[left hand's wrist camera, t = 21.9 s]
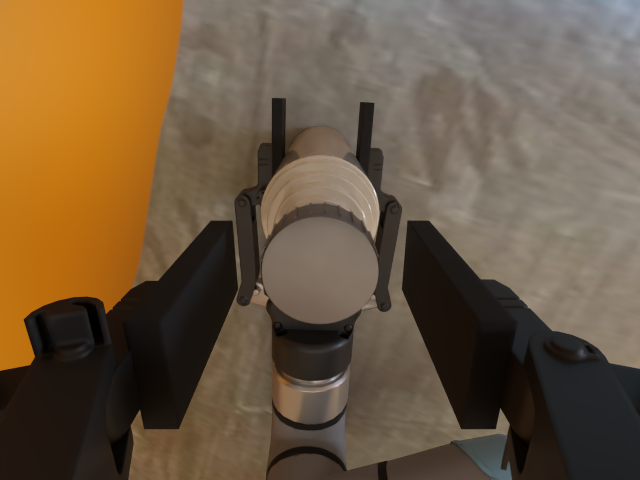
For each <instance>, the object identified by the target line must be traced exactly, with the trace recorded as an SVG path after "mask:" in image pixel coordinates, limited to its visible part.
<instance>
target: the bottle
mask: <svg viewBox="0 0 640 480" xmlns="http://www.w3.org/2000/svg"><path fill="white" fill-rule="evenodd" d="M324 202H326V204H330V205H335V206H338V205H340V207H341V208H343V209H345V210H347V211H349V212H351V211H352V212H353V214H354V215H355V216H356V217H357V218H358V219H359V220H360V221H361V220H363V222H364V225H365V227H366V229H367V230H368V231H370V232H371V235H372V238H373V240H374V237H375V234H376V231H377V226H378V221H379V203H378V198H377V195H376V192H375V189H374V187H373V186H372V184H371V182H370V180H369V178H368V177H367V175H366V173H365V172H364V170H363V168H362V167H361V165H360V163H359V162H358V160H357V158H356V157H355V155H354V153H353V151H352V150H351V148H350V146H349V145H348V143H347V141H346V140H345V138H344V137H343V136H342V135H341V134H340V133H339V132H337V131H336V130H334V129H332V128H329V127H324V126H316V127H311V128H309V129H306V130H305V131H303V132H302V133H300V134H299V135H298V136H297V137H296V139H295V140H294V142H293V143H292V145H291V147H290V148H289V150H288V152H287V153H286V155H285V157H284V158H283V160H282V162H281V164H280V165H279V167H278V169H277V170H276V172H275V174H274V175H273V177H272V179H271V181H270V182H269V184H268V186H267V188H266V190H265V192H264V195H263V199H262V203H261V220H262V226H263V231H264V234H265V237H266V239H267V238H268V235H271V233H272V230H273V227H274V224H275V223H276V224H277V223H278V222H279V221H280V220H281V219H282V218H283V215H284V214H286V215H287V214H288V213H290V212H291V211H293V210H295V208H296V207H298V208H299V207H302V206H305V205H309V203H312V204H320V203H321V204H324Z"/></svg>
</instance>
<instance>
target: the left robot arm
mask: <svg viewBox="0 0 640 480" xmlns="http://www.w3.org/2000/svg"><path fill="white" fill-rule="evenodd" d="M237 291H238V283H237V271H236V259H235V247H234V234H233V222H232V221H210V222H209V224H208V225H207V226H206V227H205V228H204V229H203V230H202V232H201V233H200V234H199V235H198V236H197V237H196V238H195V240H194V241H193V242H192V243H191V244H190V245H189V246H188V248H187V249H186V250H185V251H184V252H183V253H182V254H181V256H180V257H179V258H178V259H177V260H176V261H175V262H174V264H173V265H172V266H171V267H170V268H169V269H168V270H167V271H166V273H165V274H164V275H163V276H162V277H161V278H160V279H159V281H145V282H143V283H142V284H140V285H138V286H136V287H134V288H132V289H131V290H130V291H129V292H128V293H127V294H126V295H125V296H124V297H123V298H122V299H121V301H119V302H118V303H117V304H116V305H115V306H114V307H113V310H110V311H109V312H108V313H107V314H106V313H105V308H104V304H103V302H102V301H100V300H99V299H97V298H92V297H73V298H69V299H64V300H59V301H56V302H53V303H50V304H47V305H44V306H42V307H41V308H39V309H37V310H35V311H33V312H31V313H30V314H29V315H28V316H27V317H26V318H25V319H24V322H25V326H26V329H27V332H28V335H29V339H30V342H31V345H32V348H33V351H34V355H35V358H34V360H33V362H32V363H31V365H29V366H24V367H18V368H13V369H8V370H3V371H0V480H128V477H129V471H130V464H131V457H132V450H133V444H134V442H133V435H132V430H131V424H132V422H133V420H134V419H135V417H136V415H137V413H138V412H139V410H140V411H141V416H142V421H143V425H144V429H179V427H180V425H181V422H182V420H183V418H184V415H185V413H186V411H187V408H188V406H189V404H190V401H191V399H192V397H193V394H194V392H195V389H196V387H197V385H198V382H199V380H200V378H201V375H202V373H203V371H204V368H205V366H206V364H207V361H208V359H209V357H210V354H211V352H212V349H213V347H214V345H215V342H216V340H217V338H218V335H219V333H220V331H221V328H222V326H223V324H224V321H225V319H226V317H227V314H228V312H229V309H230V307H231V305H232V302H233V300H234V298H235V295H236V293H237ZM402 291H403V293H404V295H405V298H406V300H407V302H408V305H409V307H410V309H411V312H412V314H413V317H414V319H415V321H416V324H417V326H418V328H419V331H420V333H421V335H422V338H423V340H424V342H425V345H426V347H427V349H428V352H429V354H430V357H431V359H432V361H433V364H434V366H435V368H436V371H437V373H438V375H439V378H440V380H441V382H442V385H443V387H444V389H445V392H446V394H447V397H448V399H449V401H450V404H451V406H452V408H453V411H454V413H455V415H456V418H457V420H458V422H459V425H460V427H461V429H496V425H497V421H498V416H499V411H500V408H501V410H502V411H503V413H504V415H505V416H506V418H507V420H508V422H509V423H510V426H509V430H508V435H507V439H506V444H505V448H504V453H503V457H502V462H501V470H505V471H506V469H507V465H508V462H509V463H510V470H511V476H512V480H640V369H637V368H632V367H627V366H621V365H616V364H611V363H609V362H608V361H607V359H606V357H605V356H604V355H603V354H602V353H601V351H600V350H599V349H598V348H596V347H595V346H593V345H592V344H590V343H589V342H587V341H585V340H583V339H581V338H578V337H576V336H573V335H570V334H566V333H562V332H557V331H552V330H551V329H550V328H549V327H548V326H547V325H546V324H545V323H544V322H543V321H542V320H541V319H540V318H539V317H538V316H537V315H536V314H535V313H534V312H533V311H532V310H531V309H530V308H528V306H527V305H526V304H525V303H524V302H523V301H522V300H519V297H518V296H517V295H516V294H515V293H514V292H513V291H512V290H511V289H510V288H509V287H507V286H505V285H503V284H501V283H499V282H497V281H496V280H481V279H480V278H479V277H478V276H477V275H476V274H475V273H474V271H473V270H472V269H471V268H470V267H469V266H468V265H467V264H466V262H465V261H464V260H463V259H462V258H461V257H460V256H459V254H458V253H457V252H456V251H455V250H454V249H453V248H452V246H451V245H450V244H449V243H448V242H447V241H446V240H445V238H444V237H443V236H442V235H441V234H440V233H439V232H438V230H437V229H436V228H435V227H434V226H433V225H432V224H431V222H430V221H408V222H407V234H406V247H405V259H404V271H403V283H402Z"/></svg>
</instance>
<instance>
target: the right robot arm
mask: <svg viewBox="0 0 640 480" xmlns="http://www.w3.org/2000/svg"><path fill="white" fill-rule="evenodd" d="M373 113H374V103H368V102H360V112H359V125H358V138H357V151H356V158H357V160H358V162H359V163H360V165H361V167H362V168H363V170H364V172H365V173H366V175H367V177H368V178H369V180H370V182H371V184H372V186H373V187H374V189H375V192H376V195H377V198H378V203H379V210H380V211H381V212H380V218H379V224H378V230H377V236H376V243H375V246H376V249H377V252H378V255H379V257H378V260H379V268H380V270H379V280H378V284H377V287H376V289H375V291H374V294H373V295H372V297H371V298H370V300H369V301H368V302H367V304H366V305H365V306H364V307H363V308H362V309H361V310H359V311H358V312H357V313H355V314H354V315H352V316H350V317H349V318H346V319H344V320H342V321H338V322H335V323H329V324H311V323H306V322H302V321H299V320H296V319H294V318H292V317H290V316H288V315H286V314H285V313H283V312H282V311H281V310H280V309H278V308H277V307H276V306H275V305H274V303H273V302H272V301H271V300H270V298H269V297H268V295H267V293H266V291H265V289H264V286H263V283H262V278H258V277H259V272H260V261H259V248H258V234H257V220H256V207H255V205H258V204H260V207H261V203H262V199H263V195H264V192H265V190H266V188H267V186H268V184H269V182H270V181H271V179H272V177H273V175H274V174H275V172H276V170H277V169H278V167H279V165H280V164H281V162H282V160H283V158H284V157H285V116H286V99H285V98H272V143H262V144H261V145H260V147H259V150H258V185H257V186H255V187H252V188H249V189H244V190H242V191H241V193H240V194H239V195H238V196H237V197H236V199H235V213H236V224H237V235H238V246H239V256H240V267H241V278H242V283H241V286H240V289H239V292H238V295H237V303H238V304H239V305H241V306H247V305H248V304H249V303H250V302H252V303H255V304H258V305H262V306H265V307H266V309H267V312H268V313H269V315H270V317H271V320H272V358H273V362H272V405H273V406H272V433H271V444H270V451H269V458H268V465H267V473H266V480H512V476H511V470H510V463H509V462H508V465H507V469H506V471H505V470H501V462H502V457H503V453H504V448H505V444H506V439H507V435H503V434H495V435H489V436H484V437H478V438H473V439H467V440H462V441H457V440H454V441H451V443H450V444H447V445H443V446H440V447H436V448H433V449H429V450H426V451H422V452H419V453H415V454H412V455H408V456H404V457H401V458H397V459H394V460H390V461H384V462H380V463H376V464H372V465H368V466H364V467H360V468H356V469H352V470H348V471H347V469H346V456H345V417H346V406H347V399H348V389H349V377H350V361H351V354H352V343H353V332H354V324H355V321H356V319H357V318H358V317H359V315H360V313H361V311H363V310H367V309H372V308H376V307H378V309H379V310H380V311H382V312H386V311H388V310H390V308H391V301H390V296H389V291H388V283H389V278H390V272H391V267H392V262H393V256H394V251H395V245H396V240H397V234H398V229H399V224H400V218H401V213H402V207H401V205H400V203H399V202H398V201H397V199H396V198H395V197H394V196H392V195H388V194H385V193H383V192H381V178H382V168H383V158H384V157H383V154H382V151H381V150H380V149H379V148H370V147H371V136H372V125H373Z"/></svg>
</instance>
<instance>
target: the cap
mask: <svg viewBox="0 0 640 480" xmlns="http://www.w3.org/2000/svg"><path fill="white" fill-rule="evenodd" d="M264 248H265V249H264V252H263V255H262V258H261V261H262V262H261V278H262V283H263V286H264V289H265V291H266V293H267V295H268V297H269V298H270V300H271V301H272V302H273V303H274V305H275V306H276V307H277V308H278V309H280V310H281V311H282V312H283V313H285V314H286V315H288V316H290V317H292V318H294V319H296V320H299V321H302V322H306V323H311V324H329V323H335V322H338V321H342V320H344V319H346V318H349V317H350V316H352V315H354V314H355V313H357V312H358V311H359V310H361V309H362V308H363V307H364V306H365V305H366V304H367V302H368V301H369V300H370V298H371V297H372V295H373V294H374V291H375V289H376V287H377V284H378V280H379V270H380V268H379V260H378V257H379V255H378V252H377V249H376V246H375V243H374V240H373V238H372V235H371V232H370V231H368V230H367V229H366V227H365V225H364V222H363V220H361V221H360V220H359V219H358V218H357V217H356V216H355V215H354V214H353V212H352V211H351V212H349V211H347V210H345V209H343V208H341V207H340V205H338V206H335V205H330V204H326V202H324V204H321V203H320V204H312V203H309V205H305V206H302V207H299V208H298V207H296V208H295V210H293V211H291V212H290V213H288V214H287V215H286V214H284V215H283V218H282V219H281V220H280V221H279V222H278V223H277V224H276V223H275V224H274V227H273V230H272V233H271V235H268V238H267V240H266V243H265V246H264Z"/></svg>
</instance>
